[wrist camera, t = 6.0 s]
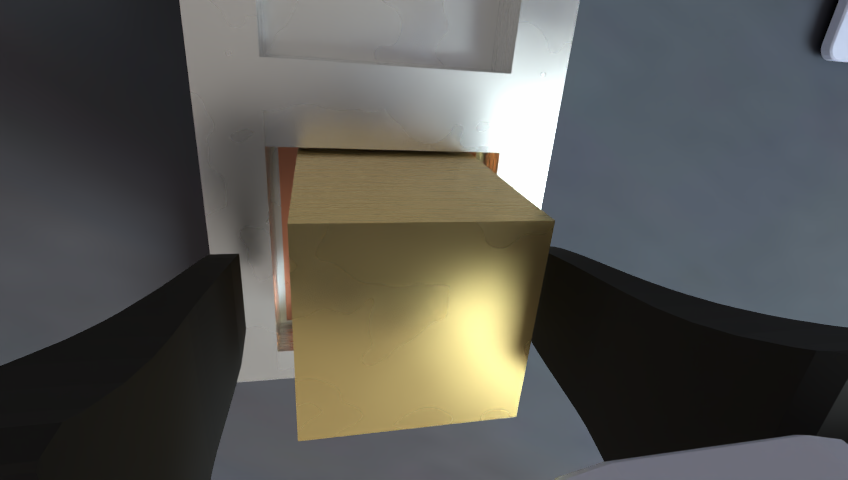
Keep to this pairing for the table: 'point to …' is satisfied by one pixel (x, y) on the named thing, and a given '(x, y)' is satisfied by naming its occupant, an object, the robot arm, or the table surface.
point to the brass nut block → (409, 289)
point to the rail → (357, 112)
